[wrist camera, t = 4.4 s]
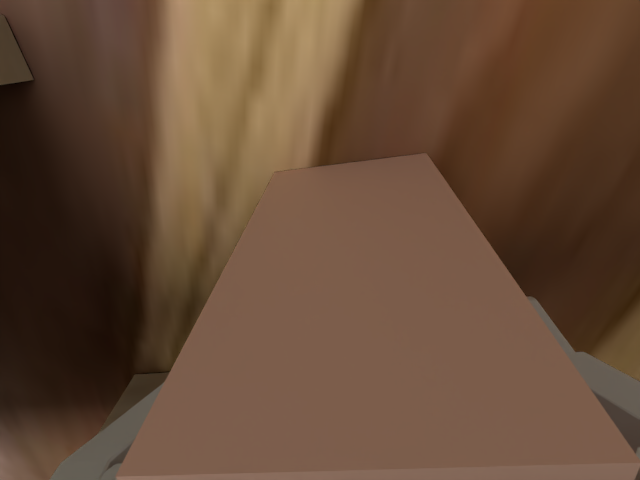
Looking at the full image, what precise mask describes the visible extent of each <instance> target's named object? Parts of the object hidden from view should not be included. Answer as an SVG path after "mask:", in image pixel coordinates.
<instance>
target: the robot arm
mask: <svg viewBox="0 0 640 480" xmlns="http://www.w3.org/2000/svg"><path fill="white" fill-rule="evenodd" d="M527 298H528V300H529V301H530V303H531V304H532V306H533V307H534V309H535V310H536V311H537V313H538V314H539V316H540V317H541V319H542V320H543V321H544V323H545V324H546V326H547V327H548V329H549V330H550V332H551V333H552V334H553V336H554V337H555V339H556V340H557V342H558V343H559V344H560V346H561V347H562V349H563V350H564V352H565V353H566V355H567V356H568V357H569V359H570V360H571V362H572V363H573V365H574V366H575V368H576V369H577V370H578V372H579V373H580V375H581V376H582V378H583V379H584V380H585V382H586V383H587V385H588V386H589V388H590V389H591V391H592V392H593V393H594V395H595V396H596V398H597V399H598V401H599V402H600V403H601V405H602V406H603V408H604V409H605V411H606V412H607V414H608V415H609V416H610V418H611V419H612V421H613V422H614V424H615V425H616V427H617V428H618V429H619V431H620V432H621V434H622V435H623V437H624V438H625V439H626V441H627V442H628V444H629V445H630V447H631V448H632V450H633V451H634V452H635V454H636V455H637V457H638V458H639V460H640V381H638V380H636V379H634V378H632V377H630V376H628V375H627V374H625V373H623V372H621V371H619V370H617V369H615V368H613V367H612V366H610V365H608V364H606V363H604V362H602V361H600V360H598V359H597V358H595V357H593V356H591V355H589V354H587V353H585V352H575V351H574V350H573V348H572V347H571V346H570V344H569V343H568V341H567V340H566V339H565V337H564V336H563V335H562V333H561V332H560V331H559V329H558V328H557V327H556V325H555V324H554V323H553V321H552V320H551V319H550V317H549V316H548V315H547V313H546V312H545V310H544V309H543V308H542V306H541V305H540V304H539V302H538V301H537V300H536V299H535V298H533V297H532V296H529V297H527ZM163 384H164V383H163ZM163 384H162V385H160V386H159V387H158V388H156V389H155V390H154V391H153V392H151V393H150V394H149V395H147V396H146V397H145V398H144V399H142V400H141V401H140V402H138V403H137V404H136V405H135V406H133V407H132V408H131V409H129V410H128V411H127V412H126V413H124V414H123V415H122V416H120V417H119V418H118V419H117V420H115V421H114V422H113V423H111V424H110V425H109V426H108V427H106V428H105V429H104V430H102V431H101V432H100V433H99V434H97V435H96V436H95V437H93V438H92V439H91V440H90V441H88V442H87V443H86V444H84V445H83V446H82V447H81V448H79V449H78V450H77V451H75V452H74V453H73V454H72V455H70V456H69V457H68V458H66V459H65V460H64V461H63V462H61V464H60V465H59V467H58V468H57V469H56V471H55V472H54V474H53V475H52V477H51V478H50V480H117V479H116V477H115V476H116V474H117V472H118V470H119V468H120V466H121V464H122V462H123V461H124V459H125V457H126V455H127V453H128V451H129V449H130V447H131V445H132V443H133V441H134V440H135V438H136V436H137V434H138V432H139V430H140V428H141V426H142V424H143V422H144V420H145V419H146V417H147V415H148V413H149V411H150V409H151V407H152V405H153V403H154V401H155V399H156V398H157V396H158V394H159V392H160V390H161V388H162V386H163ZM635 480H640V468H639V470H638V473H637V475H636V477H635Z"/></svg>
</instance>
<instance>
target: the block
mask: <svg viewBox="0 0 640 480" xmlns="http://www.w3.org/2000/svg"><path fill="white" fill-rule="evenodd" d="M639 468H640V460H639V458H638V457H637V455H636V454H635V452H634V451H633V450H632V448H631V447H630V445H629V444H628V442H627V441H626V439H625V438H624V437H623V435H622V434H621V432H620V431H619V429H618V428H617V427H616V425H615V424H614V422H613V421H612V419H611V418H610V416H609V415H608V414H607V412H606V411H605V409H604V408H603V406H602V405H601V403H600V402H599V401H598V399H597V398H596V396H595V395H594V393H593V392H592V391H591V389H590V388H589V386H588V385H587V383H586V382H585V380H584V379H583V378H582V376H581V375H580V373H579V372H578V370H577V369H576V368H575V366H574V365H573V363H572V362H571V360H570V359H569V357H568V356H567V355H566V353H565V352H564V350H563V349H562V347H561V346H560V344H559V343H558V342H557V340H556V339H555V337H554V336H553V334H552V333H551V332H550V330H549V329H548V327H547V326H546V324H545V323H544V321H543V320H542V319H541V317H540V316H539V314H538V313H537V311H536V310H535V309H534V307H533V306H532V304H531V303H530V301H529V300H528V298H527V297H526V296H525V294H524V293H523V291H522V290H521V288H520V287H519V285H518V284H517V283H516V281H515V280H514V278H513V277H512V275H511V274H510V273H509V271H508V270H507V268H506V267H505V265H504V264H503V262H502V261H501V260H500V258H499V257H498V255H497V254H496V252H495V251H494V250H493V248H492V247H491V245H490V244H489V242H488V241H487V239H486V238H485V237H484V235H483V234H482V232H481V231H480V229H479V228H478V226H477V225H476V224H475V222H474V221H473V219H472V218H471V216H470V215H469V214H468V212H467V211H466V209H465V208H464V206H463V205H462V203H461V202H460V201H459V199H458V198H457V196H456V195H455V193H454V192H453V191H452V189H451V188H450V186H449V185H448V183H447V182H446V180H445V179H444V178H443V176H442V175H441V173H440V172H439V170H438V169H437V167H436V166H435V165H434V163H433V162H432V160H431V159H430V157H429V156H428V155H427V153H422V154H414V155H406V156H398V157H390V158H382V159H374V160H367V161H359V162H351V163H343V164H335V165H327V166H319V167H311V168H303V169H295V170H287V171H279V172H274V174H273V176H272V178H271V180H270V182H269V184H268V186H267V188H266V189H265V191H264V193H263V195H262V197H261V199H260V201H259V203H258V205H257V207H256V209H255V210H254V212H253V214H252V216H251V218H250V220H249V222H248V224H247V226H246V228H245V230H244V231H243V233H242V235H241V237H240V239H239V241H238V243H237V245H236V247H235V249H234V251H233V252H232V254H231V256H230V258H229V260H228V262H227V264H226V266H225V268H224V270H223V272H222V273H221V275H220V277H219V279H218V281H217V283H216V285H215V287H214V289H213V291H212V293H211V294H210V296H209V298H208V300H207V302H206V304H205V306H204V308H203V310H202V312H201V314H200V315H199V317H198V319H197V321H196V323H195V325H194V327H193V329H192V331H191V333H190V335H189V336H188V338H187V340H186V342H185V344H184V346H183V348H182V350H181V352H180V354H179V356H178V357H177V359H176V361H175V363H174V365H173V367H172V369H171V371H170V373H169V375H168V377H167V378H166V380H165V382H164V384H163V386H162V388H161V390H160V392H159V394H158V396H157V398H156V399H155V401H154V403H153V405H152V407H151V409H150V411H149V413H148V415H147V417H146V419H145V420H144V422H143V424H142V426H141V428H140V430H139V432H138V434H137V436H136V438H135V440H134V441H133V443H132V445H131V447H130V449H129V451H128V453H127V455H126V457H125V459H124V461H123V462H122V464H121V466H120V468H119V470H118V472H117V474H116V476H115V477H116V479H117V480H635V477H636V475H637V473H638V470H639Z"/></svg>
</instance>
